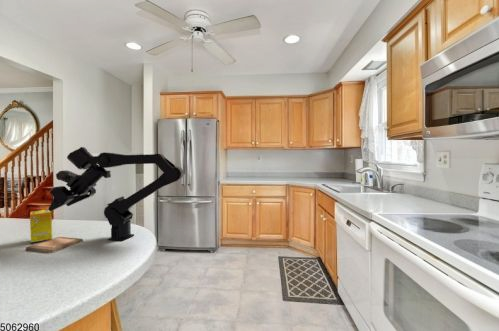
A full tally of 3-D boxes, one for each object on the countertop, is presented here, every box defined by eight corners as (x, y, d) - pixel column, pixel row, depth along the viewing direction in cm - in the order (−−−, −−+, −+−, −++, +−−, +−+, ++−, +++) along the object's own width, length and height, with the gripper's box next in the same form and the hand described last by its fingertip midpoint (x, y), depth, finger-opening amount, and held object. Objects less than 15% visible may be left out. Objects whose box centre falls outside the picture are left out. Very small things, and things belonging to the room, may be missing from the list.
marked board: (59, 239, 90) (58, 236, 90) (82, 241, 87) (82, 238, 87) (26, 250, 79) (25, 246, 79) (52, 252, 77) (52, 249, 77)
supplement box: (30, 240, 89) (30, 211, 88) (51, 237, 93) (51, 209, 92) (30, 244, 84) (29, 214, 84) (52, 240, 88) (51, 211, 88)
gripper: (87, 162, 98) (59, 189, 97) (55, 163, 80) (20, 196, 79) (107, 181, 99) (80, 208, 98) (80, 186, 81) (46, 219, 80)
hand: (58, 207), depth 89 cm, fingers open, 9 cm apart
